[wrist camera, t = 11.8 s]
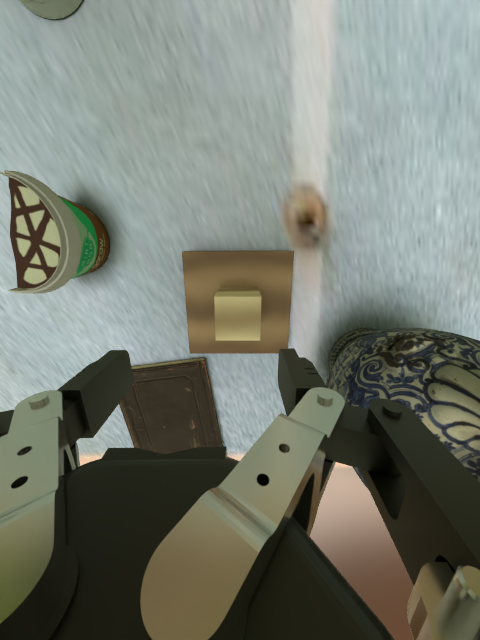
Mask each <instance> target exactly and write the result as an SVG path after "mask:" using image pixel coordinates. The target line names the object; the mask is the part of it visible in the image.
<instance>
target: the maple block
mask: <svg viewBox="0 0 480 640" xmlns="http://www.w3.org/2000/svg"><path fill="white" fill-rule="evenodd" d="M214 306H215V335H216V340H219V341H260V329H261V294H260V292H259V290H258V288H219V289H218V291H217V293H216V294H215V296H214Z"/></svg>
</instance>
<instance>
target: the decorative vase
mask: <svg viewBox="0 0 480 640" xmlns="http://www.w3.org/2000/svg"><path fill="white" fill-rule="evenodd" d="M329 367H330V371H331V373H330V375H329V378H328V379H327V383H326V386H327V388H328V389H331V390H334V391H336V392H337V393H339V394H340V395H341V396H342V397H343V398H344V401H345V403H346V404H349V405H353V406H358V407H363V408H368V409H369V404H370V402H371V401H372V400H374V399H381V398H382V399H389V400H393V401H396V402H398V403H401V404H402V405H404V406H406V407H407V408H409V409H410V410H411V411H412V412H413V413H414V414H415V415H416V416H417V417H418V418H419V419H420V420H421V421H422V422H423V423H424V424H425V425H426V426H427V428H428V429H429V430H430V431H431V432H432V433H433V434H434V435H435V436H436V437H437V438H438V439H439V440H440V441H441V442H442V443H443V444H444V445H445V446H446V448H447V449H448V450H449V451H450V452H451V453H452V454H453V455H454V456H455V457H456V458H457V459H458V460H459V461H460V462H461V463H462V464H463V465H464V467H465V468H466V469H467V470H468V471H469V472H470V473H471V474H472V475H473V476H474V477H475V478H476V479H477V480H478V481H479V482H480V341H478V340H475V339H472V338H469V337H465V336H461V335H458V334H454V333H449V332H444V331H438V330H432V329H422V328H397V329H389V330H383V331H378V330H375V329H368V328H364V329H358V330H354V331H352V332H349V333H347V334H346V335H344V336H343V337H342V338H340V339H339V340H338V341H337V342H336V344H335V345H334V347H333V348H332V350H331V353H330V356H329ZM352 467H353V466H352ZM353 468H354V470H355V471H356V473H357V474H358V476H359V478H360V479H361V480H362V482H363V483H364V484H365V486H366V487H367V488H368V486H367V484H366V482H365V480H364V478H363V476H362V474H361V472H360V469H359V468H356V467H353Z"/></svg>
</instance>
